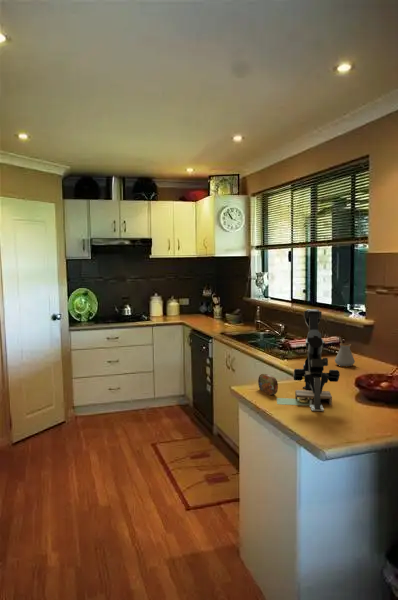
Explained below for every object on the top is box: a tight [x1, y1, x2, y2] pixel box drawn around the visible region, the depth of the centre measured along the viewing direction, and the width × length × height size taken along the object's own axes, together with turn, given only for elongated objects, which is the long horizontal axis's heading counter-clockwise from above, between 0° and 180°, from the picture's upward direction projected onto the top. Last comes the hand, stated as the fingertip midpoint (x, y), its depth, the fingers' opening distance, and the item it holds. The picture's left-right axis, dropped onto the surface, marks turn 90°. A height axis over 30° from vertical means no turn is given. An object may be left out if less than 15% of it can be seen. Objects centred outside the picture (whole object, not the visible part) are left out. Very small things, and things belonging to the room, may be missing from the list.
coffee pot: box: [334, 336, 356, 367], centre depth 279 cm, size 21×12×15 cm, turn 176°
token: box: [298, 397, 309, 404], centre depth 205 cm, size 4×4×2 cm
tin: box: [257, 373, 279, 396], centre depth 220 cm, size 15×3×8 cm, turn 21°
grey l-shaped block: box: [309, 376, 324, 412], centre depth 199 cm, size 15×5×14 cm, turn 171°
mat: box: [276, 397, 310, 407], centre depth 206 cm, size 9×14×1 cm, turn 82°
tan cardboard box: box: [294, 389, 333, 406], centre depth 206 cm, size 8×15×4 cm, turn 82°
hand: (317, 392), depth 192 cm, fingers closed on grey l-shaped block, 2 cm apart
